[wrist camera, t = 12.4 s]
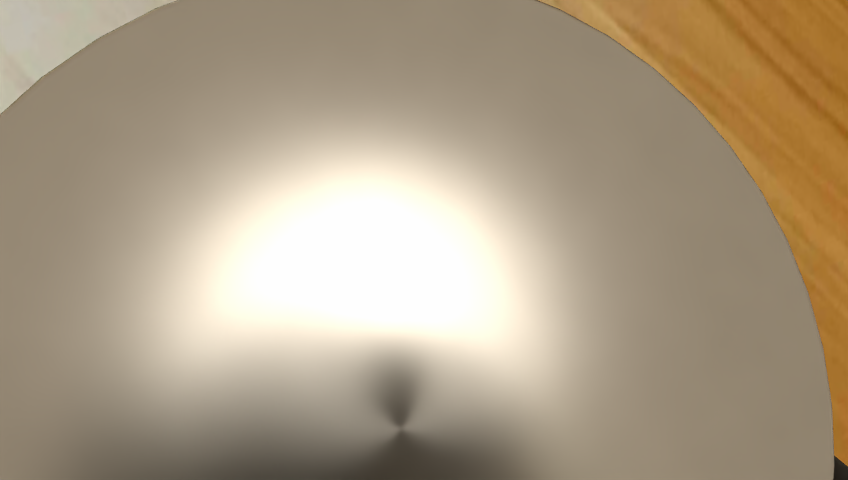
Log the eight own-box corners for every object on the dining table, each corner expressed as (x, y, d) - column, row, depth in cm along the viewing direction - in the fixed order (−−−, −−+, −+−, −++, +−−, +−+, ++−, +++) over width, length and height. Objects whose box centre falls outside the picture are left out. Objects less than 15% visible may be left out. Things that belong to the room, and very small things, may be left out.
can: (501, 364, 17) (1025, 569, 4) (312, 488, 15) (169, 1379, 3) (393, 180, 17) (555, -203, 4) (196, 289, 16) (-462, 234, 3)
